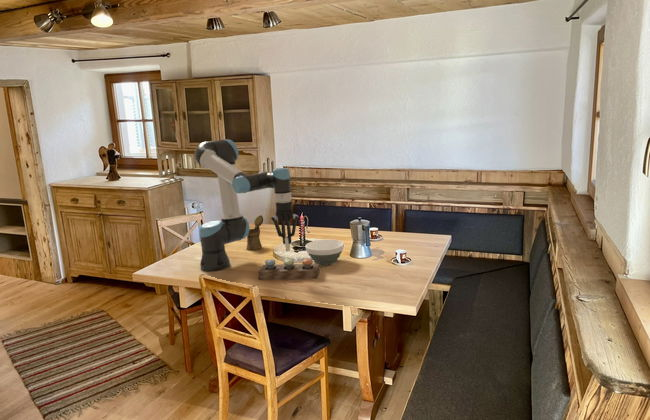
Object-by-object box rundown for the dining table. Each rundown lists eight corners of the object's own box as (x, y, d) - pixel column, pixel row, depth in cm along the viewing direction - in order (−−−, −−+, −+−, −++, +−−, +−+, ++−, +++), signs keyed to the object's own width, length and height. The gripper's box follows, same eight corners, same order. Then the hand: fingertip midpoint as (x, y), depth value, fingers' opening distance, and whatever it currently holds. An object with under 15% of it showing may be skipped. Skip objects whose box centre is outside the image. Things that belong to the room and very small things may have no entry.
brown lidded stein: (269, 244, 279) (267, 215, 276) (255, 251, 268) (252, 220, 265) (258, 243, 284) (255, 214, 280) (243, 249, 273) (240, 219, 269)
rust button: (302, 271, 220) (301, 261, 219) (303, 267, 224) (303, 258, 224) (312, 270, 219) (311, 261, 218) (313, 267, 224) (313, 258, 223)
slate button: (264, 271, 222) (264, 262, 221) (267, 268, 227) (266, 259, 226) (274, 271, 222) (273, 262, 221) (276, 268, 226) (276, 259, 225)
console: (258, 279, 221) (257, 271, 220) (264, 272, 230) (263, 264, 230) (317, 278, 217) (316, 270, 216) (320, 271, 227) (319, 263, 226)
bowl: (323, 254, 254) (322, 237, 252) (352, 259, 241) (351, 242, 239) (298, 264, 239) (297, 246, 237) (328, 271, 227) (327, 252, 225)
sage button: (283, 271, 221) (282, 262, 220) (285, 268, 226) (284, 259, 225) (293, 271, 220) (292, 262, 219) (295, 267, 225) (294, 258, 224)
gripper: (268, 203, 213) (272, 253, 218) (295, 202, 212) (300, 252, 216) (271, 200, 221) (276, 248, 225) (298, 199, 219) (302, 247, 224)
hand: (288, 250), depth 221 cm, fingers closed
